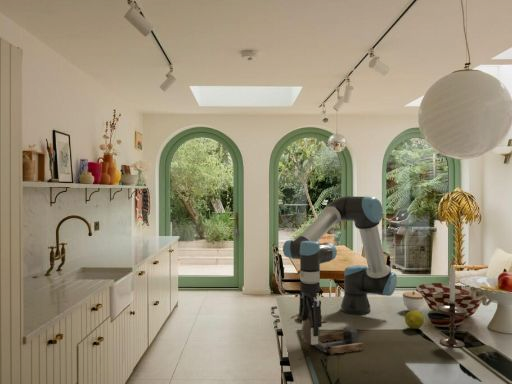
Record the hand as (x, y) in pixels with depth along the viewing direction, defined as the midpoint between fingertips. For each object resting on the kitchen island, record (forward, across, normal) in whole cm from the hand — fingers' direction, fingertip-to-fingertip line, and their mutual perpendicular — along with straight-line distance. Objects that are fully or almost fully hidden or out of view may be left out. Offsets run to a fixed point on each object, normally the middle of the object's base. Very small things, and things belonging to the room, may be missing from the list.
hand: (309, 340), depth 164 cm
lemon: (+5, -8, +56) cm, 57 cm away
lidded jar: (+5, -33, +77) cm, 84 cm away
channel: (+4, 0, +12) cm, 13 cm away
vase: (+1, 0, 0) cm, 1 cm away
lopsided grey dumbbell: (+4, 0, +8) cm, 9 cm away
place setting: (+5, -39, +22) cm, 45 cm away
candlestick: (+5, +13, +57) cm, 59 cm away
